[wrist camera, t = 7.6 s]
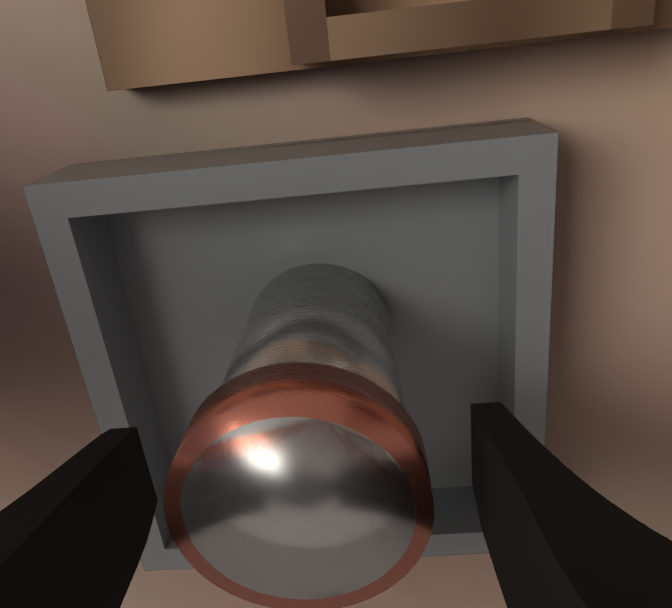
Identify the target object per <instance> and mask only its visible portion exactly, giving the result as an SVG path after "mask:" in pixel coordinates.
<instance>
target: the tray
mask: <svg viewBox="0 0 672 608" xmlns="http://www.w3.org/2000/svg"><path fill="white" fill-rule="evenodd" d="M558 133H559V132H556V131H554V130H552V129H550V128H548V127H546V126H544V125H542V124H540V123H537V122H535V121H533V120H531V119H529V118H520V119H510V120H500V121H491V122H481V123H471V124H461V125H452V126H442V127H432V128H422V129H413V130H403V131H393V132H384V133H374V134H364V135H354V136H345V137H335V138H325V139H316V140H306V141H296V142H286V143H277V144H267V145H257V146H247V147H238V148H228V149H218V150H209V151H199V152H189V153H179V154H170V155H160V156H150V157H140V158H131V159H121V160H111V161H102V162H92V163H82V164H72V165H70V166H67V167H65V168H63V169H61V170H58V171H56V172H54V173H52V174H49V175H47V176H45V177H43V178H40V179H38V180H36V181H34V182H31V183H29V184H27V185H25V186H23V189H24V192H25V196H26V199H27V202H28V205H29V208H30V211H31V214H32V218H33V221H34V224H35V227H36V230H37V233H38V237H39V240H40V243H41V246H42V249H43V252H44V255H45V259H46V262H47V265H48V268H49V271H50V274H51V278H52V281H53V284H54V287H55V290H56V293H57V296H58V300H59V303H60V306H61V309H62V312H63V315H64V319H65V322H66V325H67V328H68V331H69V334H70V337H71V341H72V344H73V347H74V350H75V353H76V356H77V360H78V363H79V366H80V369H81V372H82V375H83V378H84V382H85V385H86V388H87V391H88V394H89V397H90V400H91V404H92V407H93V410H94V413H95V416H96V419H97V423H98V426H99V429H100V432H101V434H103V433H104V432H106V431H107V430H109V429H114V428H129V427H137V430H138V433H139V437H140V440H141V444H142V447H143V450H144V454H145V457H146V461H147V464H148V468H149V471H150V475H151V478H152V482H153V485H154V489H155V492H156V496H157V499H158V502H157V506H156V510H155V514H154V518H153V522H152V526H151V529H150V533H149V536H148V540H147V543H146V546H145V548H144V551H143V553H142V556H141V561H142V564H143V568H144V571H150V570H169V569H189V568H194V567H193V566H192V565H191V564H190V563H189V562H188V561H187V560H186V558H185V557H184V556H183V555H182V553H181V552H180V550H179V549H178V547H177V546H176V544H175V542H174V540H173V538H172V536H171V534H170V532H169V529H168V526H167V522H166V519H165V513H164V506H163V497H164V487H165V482H166V477H167V474H168V472H169V469H170V467H171V464H172V462H173V459H174V457H175V455H176V453H177V450H178V448H179V446H180V443H181V441H182V439H183V437H184V434H185V432H186V430H187V427H188V425H189V423H190V421H191V419H192V417H193V416H194V414H195V412H196V410H197V409H198V408H199V406H200V405H201V404H202V403H203V402H204V400H205V399H206V398H207V397H208V396H209V395H210V394H211V393H213V392H214V391H215V390H216V389H217V388H218V387H220V386H221V385H222V384H223V381H224V378H225V376H226V373H227V371H228V368H229V366H230V363H231V361H232V358H233V355H234V353H235V350H236V348H237V345H238V343H239V340H240V337H241V335H242V332H243V330H244V327H245V325H246V322H247V320H248V317H249V314H250V312H251V309H252V307H253V304H254V302H255V300H256V298H257V296H258V295H259V293H260V292H261V290H262V289H263V288H264V287H265V286H266V285H267V284H268V283H269V282H270V281H271V280H272V279H273V278H275V277H276V276H278V275H279V274H281V273H283V272H285V271H287V270H289V269H291V268H294V267H297V266H301V265H305V264H314V263H326V264H333V265H338V266H342V267H345V268H348V269H350V270H353V271H355V272H357V273H358V274H360V275H362V276H364V277H365V278H366V279H368V280H369V281H370V282H371V283H372V284H373V285H374V286H375V287H376V288H377V289H378V290H379V291H380V293H381V294H382V295H383V297H384V298H385V300H386V302H387V304H388V306H389V309H390V311H391V315H392V319H393V326H394V334H395V342H396V350H397V358H398V366H399V374H400V382H401V390H402V398H403V406H404V408H405V410H406V411H407V412H408V413H409V414H410V416H411V418H412V419H413V421H414V422H415V424H416V426H417V427H418V430H419V432H420V435H421V437H422V440H423V443H424V447H425V452H426V457H427V463H428V469H429V475H430V481H431V487H432V494H433V500H434V522H433V528H432V532H431V536H430V539H429V542H428V544H427V546H426V548H425V550H424V552H423V554H422V555H421V557H422V556H442V555H461V554H481V553H489V550H488V547H487V544H486V541H485V538H484V535H483V532H482V528H481V525H480V520H479V515H478V510H477V506H476V500H475V495H474V490H473V485H472V460H471V404H475V403H489V402H501V403H502V404H503V405H504V406H506V408H507V409H508V410H509V411H510V412H511V413H512V414H513V415H514V416H515V417H516V418H517V419H518V420H519V421H520V422H521V423H522V425H523V426H524V427H525V428H526V429H527V430H528V431H529V432H530V433H531V434H532V435H533V436H534V437H535V438H536V439H537V440H538V441H539V442H540V443H541V444H542V445H543V446H544V447H545V434H546V411H547V387H548V364H549V341H550V318H551V295H552V272H553V248H554V225H555V202H556V179H557V156H558Z"/></svg>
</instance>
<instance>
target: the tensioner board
mask: <svg viewBox="0 0 672 608" xmlns="http://www.w3.org/2000/svg"><path fill="white" fill-rule="evenodd" d="M85 1H86V5H87V10H88V14H89V18H90V22H91V26H92V30H93V34H94V38H95V42H96V46H97V51H98V55H99V59H100V63H101V67H102V71H103V75H104V79H105V83H106V87H107V91H113V90H122V89H131V88H140V87H149V86H158V85H167V84H176V83H185V82H194V81H203V80H212V79H221V78H230V77H239V76H248V75H257V74H266V73H275V72H284V71H292V70H301V69H310V68H319V67H328V66H337V65H346V64H355V63H364V62H373V61H382V60H391V59H400V58H409V57H418V56H427V55H436V54H445V53H454V52H463V51H472V50H481V49H490V48H499V47H508V46H517V45H526V44H535V43H543V42H552V41H561V40H570V39H579V38H588V37H597V36H606V35H615V34H624V33H633V32H642V31H651V30H660V29H669V28H672V0H85Z"/></svg>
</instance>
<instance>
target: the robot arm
mask: <svg viewBox="0 0 672 608" xmlns="http://www.w3.org/2000/svg"><path fill="white" fill-rule="evenodd" d="M471 460H472V485H473V490H474V495H475V500H476V506H477V510H478V515H479V520H480V525H481V528H482V532H483V535H484V538H485V541H486V544H487V547H488V550H489V553H490V556H491V559H492V563H493V566H494V569H495V572H496V575H497V578H498V581H499V584H500V587H501V590H502V593H503V596H504V599H505V602H506V605H507V608H672V541H671V540H669V539H667V538H666V537H664V536H662V535H661V534H659V533H657V532H655V531H654V530H652V529H650V528H649V527H647V526H646V525H644V524H643V523H641V522H639V521H638V520H636V519H635V518H633V517H632V516H630V515H629V514H627V513H626V512H624V511H623V510H622V509H620V508H619V507H617V506H616V505H614V504H613V503H611V502H610V501H609V500H607V499H606V498H604V497H603V496H602V495H600V494H599V493H598V492H596V491H595V490H594V489H592V488H591V487H590V486H589V485H588V484H586V483H585V482H584V481H583V480H581V479H580V478H579V477H578V476H577V475H575V474H574V473H573V472H572V471H571V470H570V469H569V468H567V467H566V466H565V465H564V464H563V463H562V462H561V461H560V460H559V459H557V458H556V457H555V456H554V455H553V454H552V453H551V452H550V451H549V450H548V449H547V448H546V447H544V446H543V445H542V444H541V443H540V442H539V441H538V440H537V439H536V438H535V437H534V436H533V435H532V434H531V433H530V432H529V431H528V430H527V429H526V428H525V427H524V426H523V425H522V423H521V422H520V421H519V420H518V419H517V418H516V417H515V416H514V415H513V414H512V413H511V412H510V411H509V410H508V409H507V408H506V406H504V405H503V404H502V403H501V402H489V403H475V404H471ZM157 502H158V499H157V496H156V492H155V489H154V485H153V482H152V478H151V475H150V471H149V468H148V464H147V461H146V457H145V454H144V450H143V447H142V444H141V440H140V437H139V433H138V430H137V427H129V428H114V429H109V430H107V431H106V432H104V433H103V434H101V435H100V436H99V437H97V438H96V439H95V440H93V441H92V442H91V443H89V444H88V445H87V446H85V447H84V448H83V449H82V450H80V451H79V452H78V453H76V454H75V455H74V456H73V457H71V458H70V459H69V460H68V461H66V462H65V463H64V464H63V465H61V466H60V467H59V468H57V469H56V470H55V471H54V472H52V473H51V474H50V475H48V476H47V477H46V478H45V479H43V480H42V481H41V482H39V483H38V484H37V485H36V486H34V487H33V488H32V489H30V490H29V491H28V492H26V493H25V494H23V495H22V496H21V497H19V498H18V499H17V500H15V501H14V502H12V503H11V504H10V505H8V506H7V507H6V508H4V509H3V510H1V511H0V608H120V606H121V604H122V601H123V599H124V597H125V594H126V592H127V589H128V587H129V585H130V582H131V580H132V578H133V575H134V573H135V570H136V568H137V566H138V563H139V561H140V558H141V556H142V553H143V551H144V548H145V546H146V543H147V540H148V536H149V533H150V529H151V526H152V522H153V518H154V514H155V510H156V506H157Z"/></svg>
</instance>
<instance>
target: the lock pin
mask: <svg viewBox="0 0 672 608" xmlns="http://www.w3.org/2000/svg"><path fill="white" fill-rule="evenodd" d="M163 506H164V513H165V519H166V522H167V526H168V529H169V532H170V534H171V536H172V538H173V540H174V542H175V544H176V546H177V547H178V549H179V550H180V552H181V553H182V555H183V556H184V557H185V558H186V560H187V561H188V562H189V563H190V564H191V565H192V566H193V567H194V568H195V569H196V570H197V571H198V572H199V573H200V574H201V575H203V576H204V577H205V578H206V579H208V580H209V581H211V582H212V583H213V584H215V585H216V586H218V587H220V588H221V589H223V590H225V591H227V592H228V593H230V594H233V595H235V596H237V597H239V598H242V599H244V600H247V601H250V602H253V603H256V604H259V605H263V606H267V607H272V608H341V607H345V606H349V605H353V604H356V603H359V602H361V601H364V600H367V599H370V598H372V597H374V596H376V595H378V594H380V593H382V592H384V591H385V590H387V589H388V588H390V587H391V586H393V585H394V584H396V583H397V582H398V581H399V580H400V579H402V578H403V577H404V576H405V575H406V574H407V573H408V572H409V571H410V570H411V569H412V568H413V567H414V565H415V564H416V563H417V561H418V560H419V558H420V557H421V555H422V554H423V552H424V550H425V548H426V546H427V544H428V542H429V539H430V536H431V532H432V528H433V522H434V500H433V494H432V487H431V481H430V475H429V469H428V463H427V457H426V452H425V447H424V443H423V440H422V437H421V435H420V432H419V430H418V427H417V426H416V424H415V422H414V421H413V419H412V418H411V416H410V414H409V413H408V412H407V411H406V410H405V408H404V406H403V398H402V390H401V382H400V374H399V366H398V358H397V350H396V342H395V334H394V326H393V319H392V315H391V311H390V309H389V306H388V304H387V302H386V300H385V298H384V297H383V295H382V294H381V293H380V291H379V290H378V289H377V288H376V287H375V286H374V285H373V284H372V283H371V282H370V281H369V280H368V279H366V278H365V277H364V276H362V275H360V274H358V273H357V272H355V271H353V270H350V269H348V268H345V267H342V266H338V265H333V264H326V263H314V264H305V265H301V266H297V267H294V268H291V269H289V270H287V271H285V272H283V273H281V274H279V275H278V276H276V277H275V278H273V279H272V280H271V281H270V282H269V283H268V284H267V285H266V286H265V287H264V288H263V289H262V290H261V292H260V293H259V295H258V296H257V298H256V300H255V302H254V304H253V307H252V309H251V312H250V314H249V317H248V320H247V322H246V325H245V327H244V330H243V332H242V335H241V337H240V340H239V343H238V345H237V348H236V350H235V353H234V355H233V358H232V361H231V363H230V366H229V368H228V371H227V373H226V376H225V378H224V381H223V384H222V385H221V386H220V387H218V388H217V389H216V390H215V391H214V392H213V393H211V394H210V395H209V396H208V397H207V398H206V399H205V400H204V402H203V403H202V404H201V405H200V406H199V408H198V409H197V410H196V412H195V414H194V416H193V417H192V419H191V421H190V423H189V425H188V427H187V430H186V432H185V434H184V437H183V439H182V441H181V443H180V446H179V448H178V450H177V453H176V455H175V457H174V459H173V462H172V464H171V467H170V469H169V472H168V474H167V477H166V482H165V487H164V497H163Z"/></svg>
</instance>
